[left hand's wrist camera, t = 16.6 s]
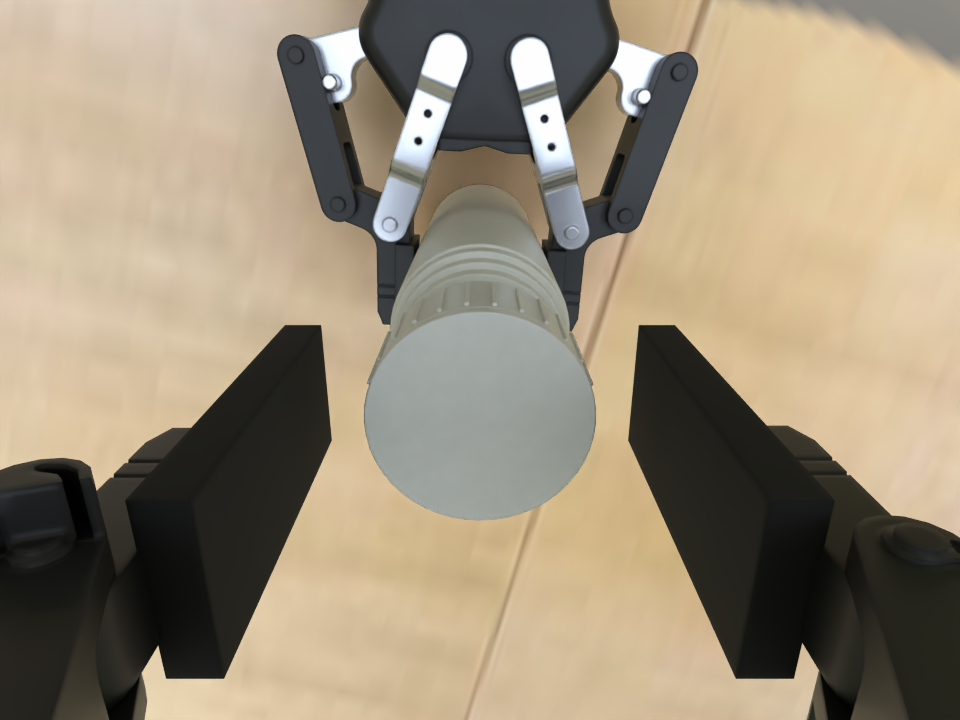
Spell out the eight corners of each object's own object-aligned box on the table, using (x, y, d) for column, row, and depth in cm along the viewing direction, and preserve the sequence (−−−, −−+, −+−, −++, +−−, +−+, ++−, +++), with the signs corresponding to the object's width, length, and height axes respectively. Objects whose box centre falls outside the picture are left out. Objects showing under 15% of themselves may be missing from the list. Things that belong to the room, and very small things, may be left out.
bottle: (491, 162, 29) (510, 241, 11) (549, 247, 31) (647, 436, 13) (408, 224, 30) (307, 386, 12) (468, 304, 32) (454, 552, 14)
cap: (342, 412, 14) (320, 460, 12) (440, 239, 13) (433, 261, 11) (513, 499, 15) (518, 557, 13) (622, 345, 14) (646, 383, 12)
